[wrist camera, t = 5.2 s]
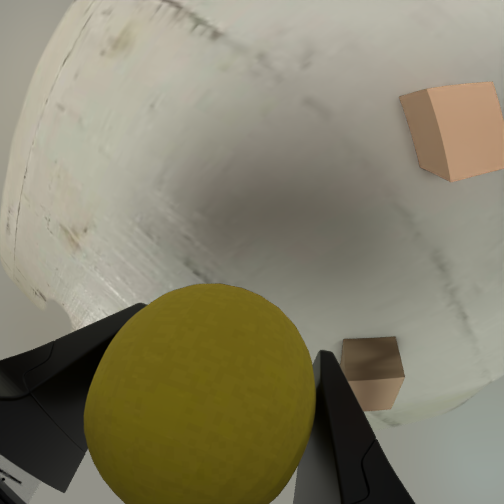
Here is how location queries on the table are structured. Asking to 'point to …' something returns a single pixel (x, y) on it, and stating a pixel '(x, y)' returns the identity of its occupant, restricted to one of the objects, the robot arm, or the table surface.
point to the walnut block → (373, 371)
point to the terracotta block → (456, 129)
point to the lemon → (202, 400)
